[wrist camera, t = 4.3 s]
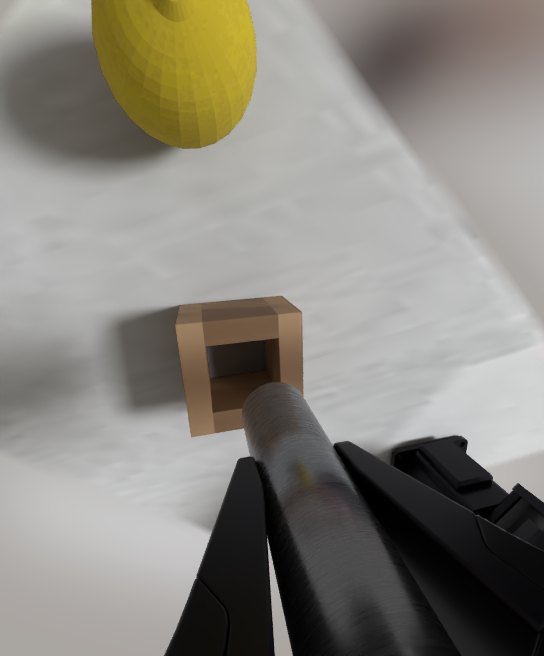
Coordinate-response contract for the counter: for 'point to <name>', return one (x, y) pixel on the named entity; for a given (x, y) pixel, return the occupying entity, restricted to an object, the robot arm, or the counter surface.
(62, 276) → the counter surface
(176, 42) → the lemon
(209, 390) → the block with square hole
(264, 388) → the peg
